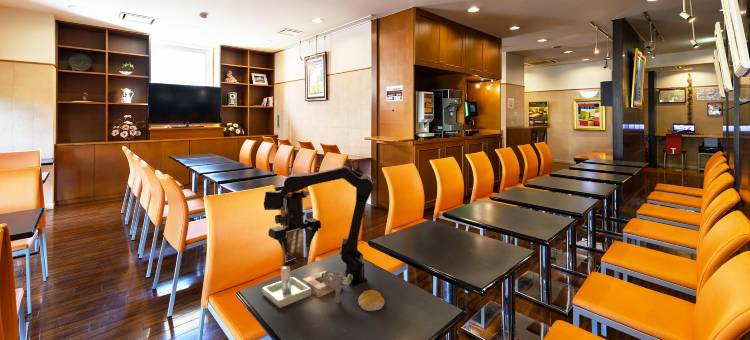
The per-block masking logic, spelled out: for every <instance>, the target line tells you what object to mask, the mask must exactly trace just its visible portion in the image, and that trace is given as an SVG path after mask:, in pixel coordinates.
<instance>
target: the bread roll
mask: <svg viewBox="0 0 750 340" xmlns="http://www.w3.org/2000/svg"><path fill="white" fill-rule="evenodd" d="M357 300H358V301H357V303H358V305H359V306H360V308H361V309H363V311H366V312H367V311H368V312H372V311H373V312H374V311H379V310H380V309H382V308H383V307H384V305H385V298H384V297H382V294H381V293H380V292H379V291H377V290H374V289H368V290H364V291H363V292H361V294H360V295H359V297H358V299H357Z"/></svg>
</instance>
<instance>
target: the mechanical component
mask: <svg viewBox="0 0 750 340" xmlns="http://www.w3.org/2000/svg"><path fill="white" fill-rule="evenodd" d="M325 271H326V272H325V273H322V278H323V279H324V283H325V285H327V286H334V290H335V291H334V292H335V303H336V304H340V303H341V291H342V290H343V288H348V287H350V285H351V280H353V275H351V274H348V277H345V276H344V275H343V273H342V272H341V271H332V270H331V271H330V270H325ZM330 277H331V278H332V279H331V278H330ZM341 287H342V288H341Z"/></svg>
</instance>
